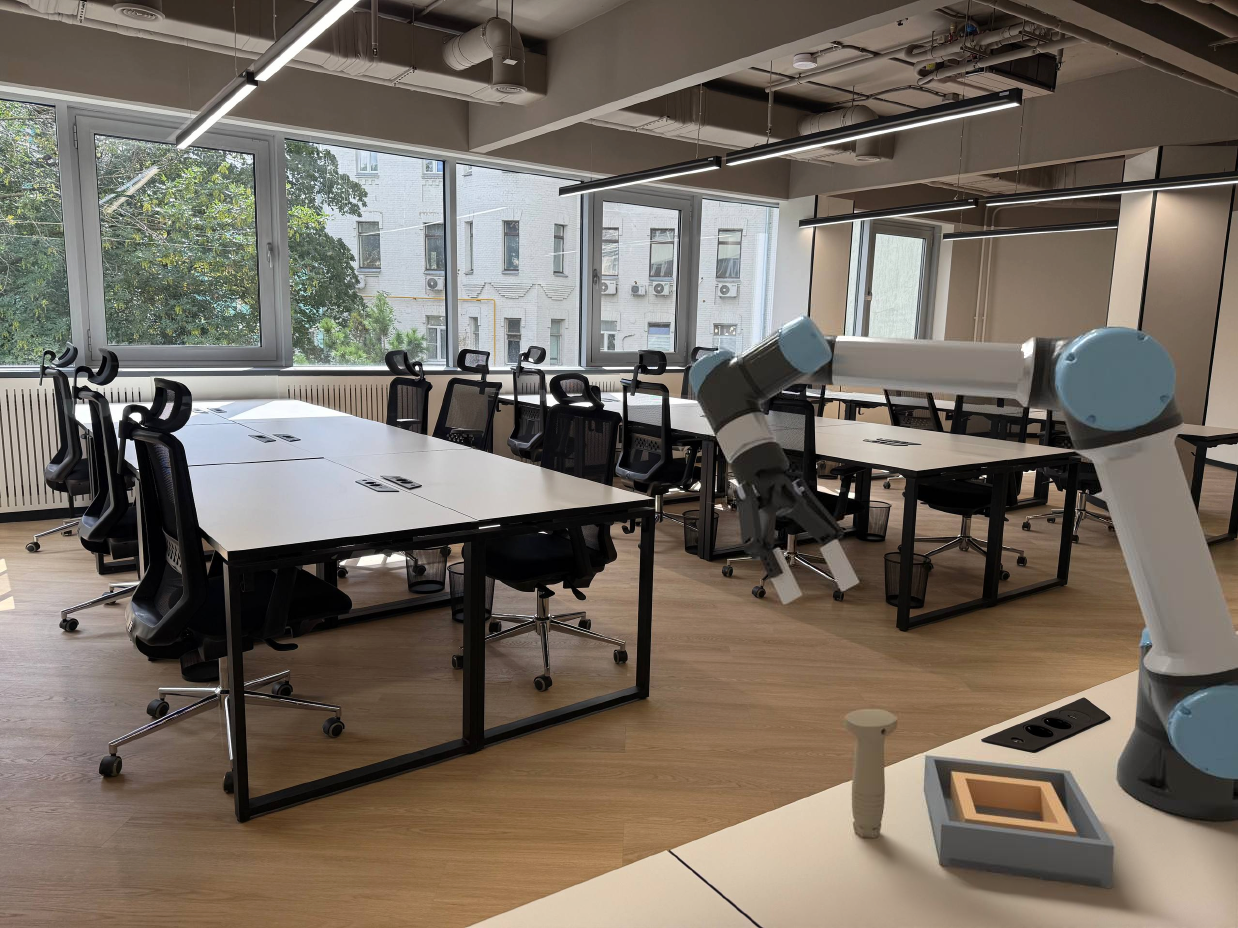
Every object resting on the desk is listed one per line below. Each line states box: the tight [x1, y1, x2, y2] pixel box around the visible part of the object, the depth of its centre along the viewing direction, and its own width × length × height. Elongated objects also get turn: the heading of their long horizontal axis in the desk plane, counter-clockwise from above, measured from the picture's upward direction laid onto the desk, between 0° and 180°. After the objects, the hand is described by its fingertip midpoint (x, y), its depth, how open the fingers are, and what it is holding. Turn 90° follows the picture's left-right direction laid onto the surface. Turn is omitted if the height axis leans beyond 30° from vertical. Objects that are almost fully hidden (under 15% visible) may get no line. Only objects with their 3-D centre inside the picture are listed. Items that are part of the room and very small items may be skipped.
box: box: [923, 754, 1115, 889], centre depth 104 cm, size 18×18×5 cm
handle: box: [844, 708, 898, 839], centre depth 103 cm, size 5×6×15 cm
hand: (823, 593), depth 108 cm, fingers open, 13 cm apart
